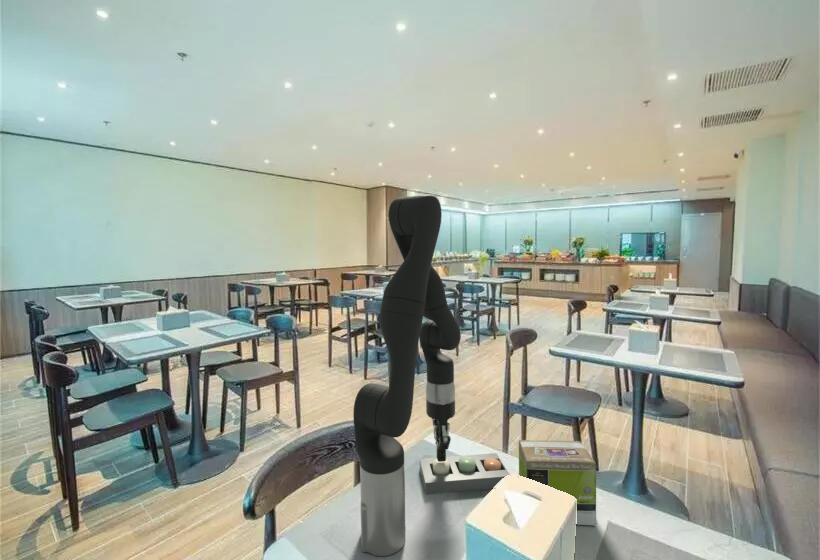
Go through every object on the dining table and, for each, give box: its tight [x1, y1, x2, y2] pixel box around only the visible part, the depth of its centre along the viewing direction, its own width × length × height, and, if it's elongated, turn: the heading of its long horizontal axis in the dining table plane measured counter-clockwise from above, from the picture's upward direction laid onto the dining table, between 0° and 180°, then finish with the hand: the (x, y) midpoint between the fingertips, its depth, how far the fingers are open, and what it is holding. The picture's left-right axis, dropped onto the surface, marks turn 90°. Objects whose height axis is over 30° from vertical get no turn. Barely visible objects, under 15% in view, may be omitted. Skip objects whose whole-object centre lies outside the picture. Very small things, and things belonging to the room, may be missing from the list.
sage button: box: [459, 456, 475, 473], centre depth 102 cm, size 4×4×3 cm
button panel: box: [419, 452, 511, 495], centre depth 102 cm, size 22×11×3 cm, turn 96°
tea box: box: [518, 439, 597, 526], centre depth 89 cm, size 15×10×15 cm, turn 84°
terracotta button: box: [484, 458, 501, 471], centre depth 103 cm, size 4×4×3 cm
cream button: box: [433, 459, 450, 475], centre depth 101 cm, size 4×4×3 cm
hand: (441, 460), depth 101 cm, fingers closed
